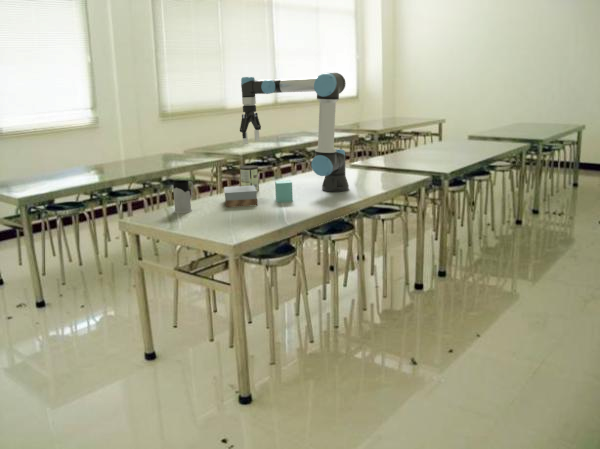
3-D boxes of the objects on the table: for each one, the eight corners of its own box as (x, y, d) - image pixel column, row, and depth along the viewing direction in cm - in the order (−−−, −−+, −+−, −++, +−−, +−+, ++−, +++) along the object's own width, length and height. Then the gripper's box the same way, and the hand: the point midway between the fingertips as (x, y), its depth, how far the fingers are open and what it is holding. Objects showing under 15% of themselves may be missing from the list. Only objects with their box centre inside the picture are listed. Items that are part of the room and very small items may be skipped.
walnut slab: (255, 200, 318) (254, 192, 317) (257, 206, 303) (257, 198, 302) (225, 201, 316) (224, 194, 315) (226, 208, 301) (225, 200, 300)
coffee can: (245, 188, 348) (244, 165, 344) (261, 189, 344) (260, 165, 341) (238, 192, 338) (237, 167, 335) (254, 192, 335) (253, 168, 331)
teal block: (290, 198, 317) (290, 180, 315) (292, 201, 309) (292, 182, 307) (275, 199, 316) (275, 180, 314) (277, 202, 308) (276, 183, 306)
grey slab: (254, 192, 317) (254, 185, 316) (256, 198, 302) (256, 191, 301) (224, 194, 315) (224, 187, 314) (225, 200, 300) (224, 192, 299)
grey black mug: (170, 212, 292) (168, 182, 289) (187, 206, 305) (184, 177, 301) (185, 213, 289) (183, 183, 285) (201, 207, 302) (199, 178, 298)
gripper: (254, 103, 346) (256, 140, 351) (231, 106, 324) (234, 145, 329) (265, 103, 343) (267, 140, 348) (243, 106, 321) (246, 145, 326)
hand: (251, 142), depth 339 cm, fingers open, 13 cm apart
